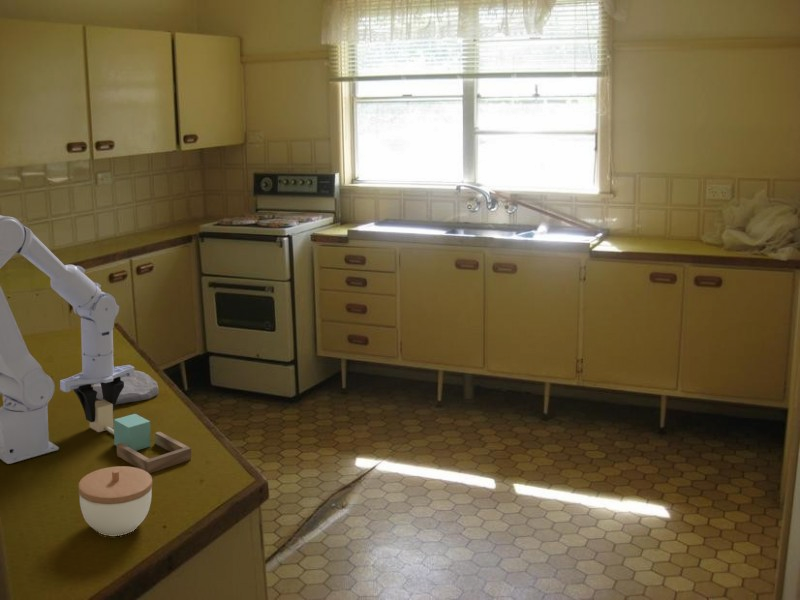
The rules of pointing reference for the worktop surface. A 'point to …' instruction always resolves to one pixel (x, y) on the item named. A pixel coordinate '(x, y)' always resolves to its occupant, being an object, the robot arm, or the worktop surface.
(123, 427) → the multicoloured linked piece
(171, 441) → the u-shaped wooden frame
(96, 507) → the lidded jar
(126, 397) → the stone block
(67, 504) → the worktop surface
